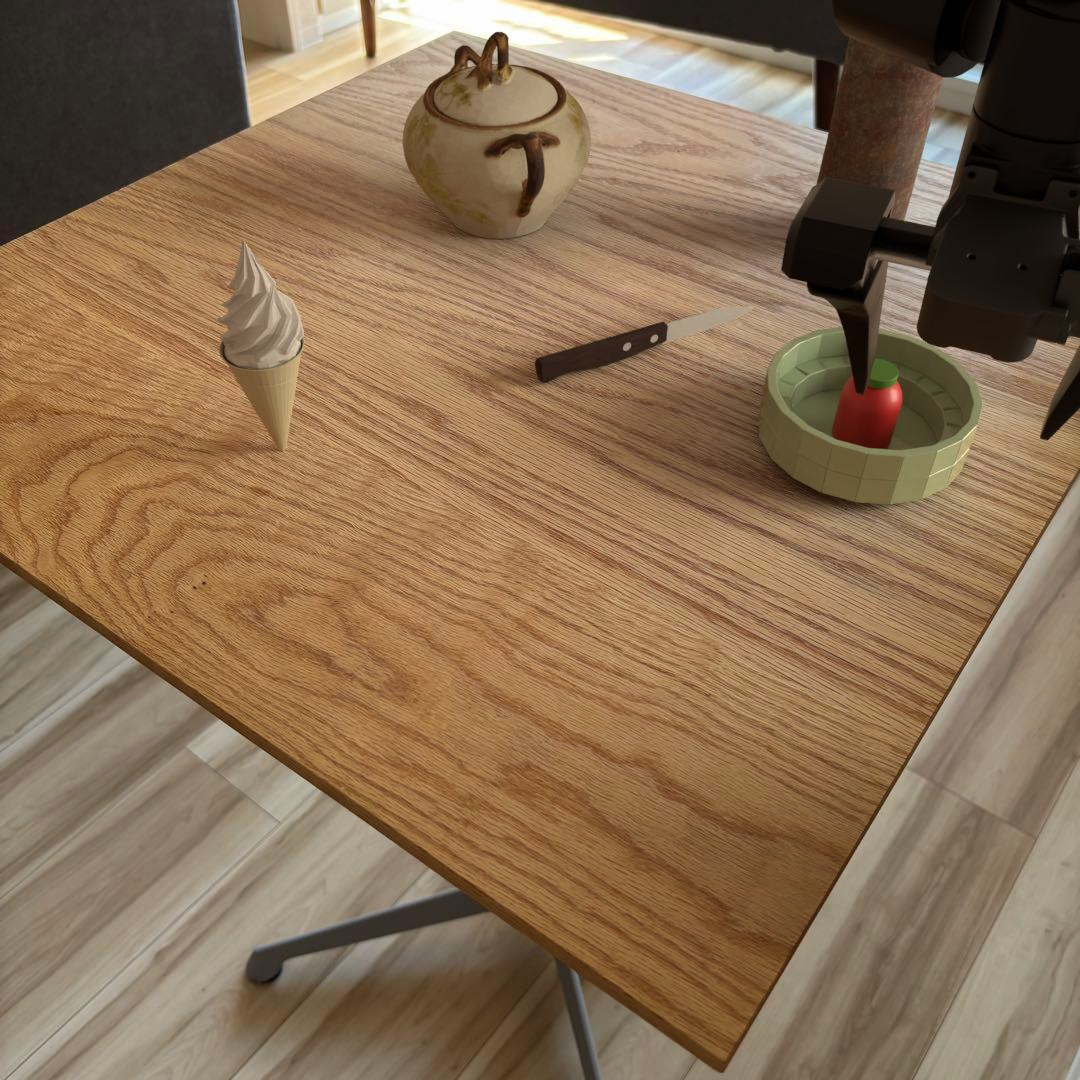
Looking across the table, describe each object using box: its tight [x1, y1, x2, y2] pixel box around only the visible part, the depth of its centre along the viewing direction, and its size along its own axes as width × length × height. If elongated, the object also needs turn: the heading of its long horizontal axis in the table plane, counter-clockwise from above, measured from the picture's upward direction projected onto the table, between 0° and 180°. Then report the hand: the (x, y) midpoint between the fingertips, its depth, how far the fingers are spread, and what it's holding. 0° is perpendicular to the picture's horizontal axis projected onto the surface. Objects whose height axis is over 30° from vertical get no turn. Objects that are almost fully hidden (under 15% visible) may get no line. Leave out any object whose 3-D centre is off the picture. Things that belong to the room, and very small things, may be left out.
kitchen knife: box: [534, 305, 755, 384], centre depth 81 cm, size 18×1×2 cm, turn 117°
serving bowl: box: [757, 326, 984, 506], centre depth 73 cm, size 13×13×4 cm
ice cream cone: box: [216, 240, 306, 452], centre depth 68 cm, size 5×5×15 cm
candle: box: [816, 37, 944, 221], centre depth 85 cm, size 8×7×20 cm
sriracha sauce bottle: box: [832, 358, 902, 449], centre depth 72 cm, size 4×4×5 cm
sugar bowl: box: [402, 31, 592, 240], centre depth 90 cm, size 20×15×15 cm
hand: (950, 412), depth 58 cm, fingers open, 9 cm apart
